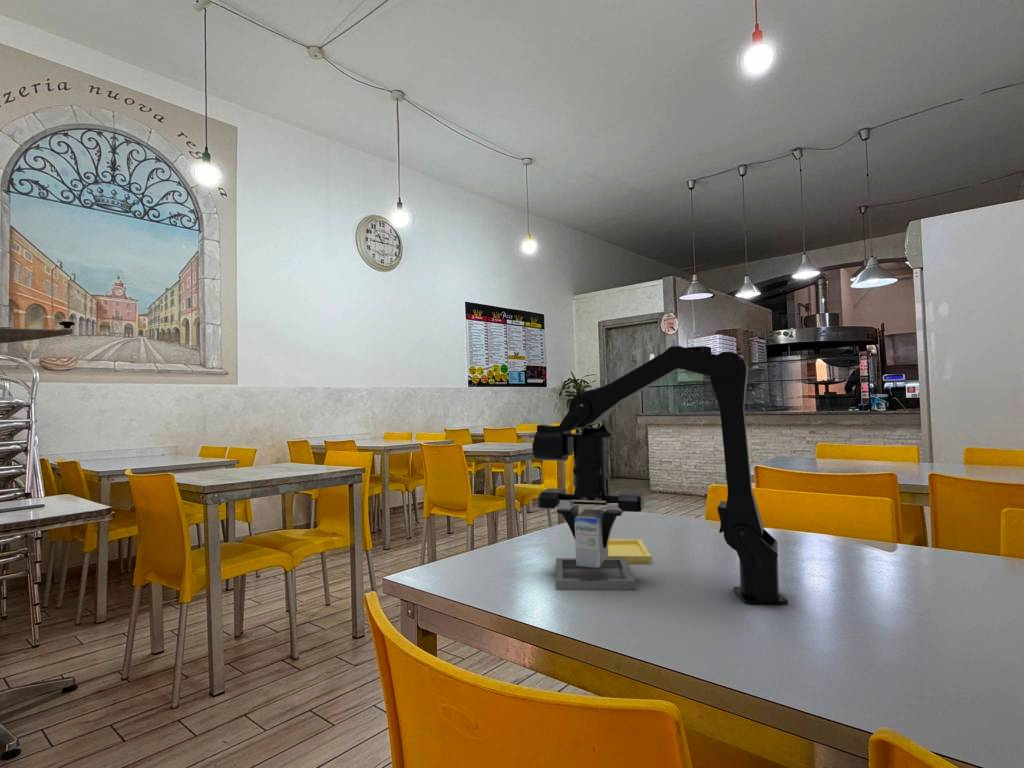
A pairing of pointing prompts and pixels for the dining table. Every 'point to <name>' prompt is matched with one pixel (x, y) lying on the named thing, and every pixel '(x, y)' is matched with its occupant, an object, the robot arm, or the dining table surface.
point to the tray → (629, 551)
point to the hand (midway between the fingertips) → (592, 546)
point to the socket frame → (594, 584)
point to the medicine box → (590, 538)
